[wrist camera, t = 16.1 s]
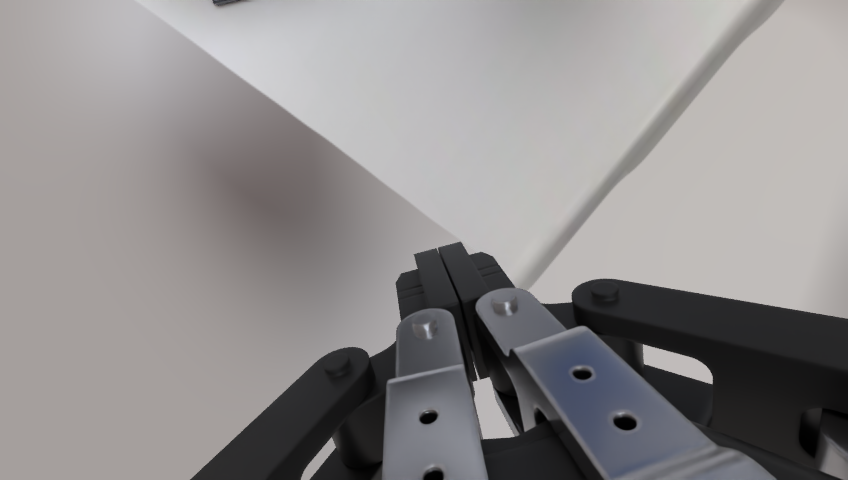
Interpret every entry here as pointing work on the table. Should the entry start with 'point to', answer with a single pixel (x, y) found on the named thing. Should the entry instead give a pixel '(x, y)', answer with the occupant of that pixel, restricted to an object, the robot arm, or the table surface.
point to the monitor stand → (223, 1)
